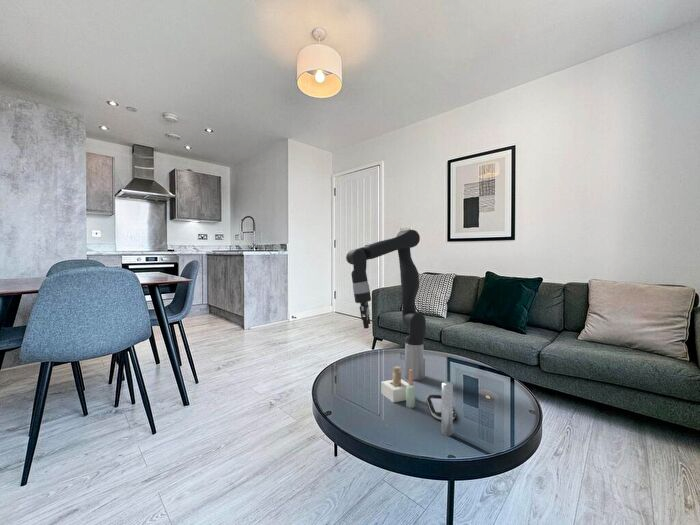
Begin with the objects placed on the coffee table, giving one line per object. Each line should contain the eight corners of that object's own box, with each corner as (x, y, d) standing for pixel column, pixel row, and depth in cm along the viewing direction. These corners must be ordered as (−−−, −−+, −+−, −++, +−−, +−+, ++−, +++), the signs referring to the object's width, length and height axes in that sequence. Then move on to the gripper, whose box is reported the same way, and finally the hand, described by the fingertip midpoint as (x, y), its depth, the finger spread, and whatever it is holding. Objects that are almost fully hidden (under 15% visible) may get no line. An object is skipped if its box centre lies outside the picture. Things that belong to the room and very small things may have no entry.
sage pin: (411, 403, 119) (411, 384, 120) (416, 406, 116) (416, 387, 116) (404, 404, 118) (404, 385, 118) (409, 408, 115) (409, 389, 115)
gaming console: (425, 399, 124) (425, 393, 124) (446, 400, 123) (446, 394, 123) (433, 422, 105) (433, 415, 105) (458, 424, 104) (458, 416, 104)
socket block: (400, 389, 133) (400, 363, 133) (413, 398, 124) (413, 370, 124) (381, 393, 129) (381, 365, 129) (393, 402, 120) (393, 373, 120)
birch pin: (398, 393, 129) (398, 366, 129) (402, 396, 125) (402, 368, 126) (390, 394, 127) (391, 367, 128) (395, 398, 124) (395, 369, 124)
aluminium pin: (447, 428, 100) (447, 380, 101) (455, 434, 97) (455, 384, 97) (439, 431, 99) (439, 382, 99) (446, 436, 95) (446, 386, 96)
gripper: (368, 292, 128) (374, 328, 128) (370, 288, 142) (376, 321, 142) (351, 294, 129) (357, 330, 129) (355, 291, 143) (361, 323, 143)
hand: (367, 326), depth 135 cm, fingers open, 8 cm apart
